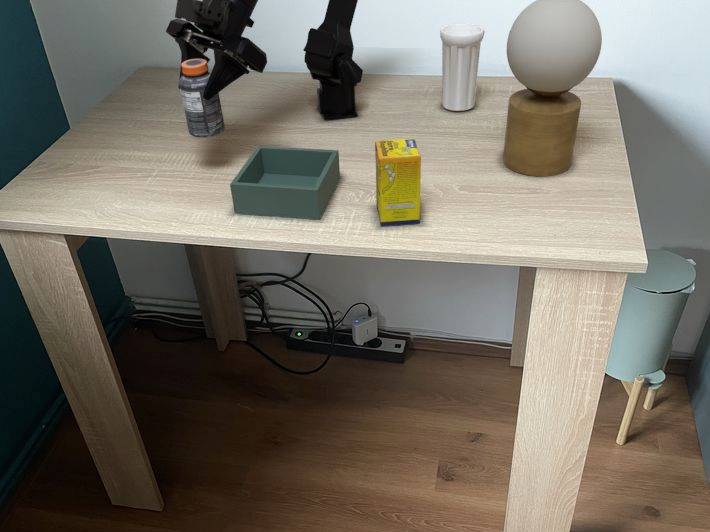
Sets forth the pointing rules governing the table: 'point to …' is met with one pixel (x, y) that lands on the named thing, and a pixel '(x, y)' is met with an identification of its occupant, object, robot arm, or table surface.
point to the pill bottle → (200, 101)
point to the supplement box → (398, 181)
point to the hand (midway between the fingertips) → (192, 94)
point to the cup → (460, 64)
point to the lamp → (548, 83)
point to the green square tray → (286, 182)
